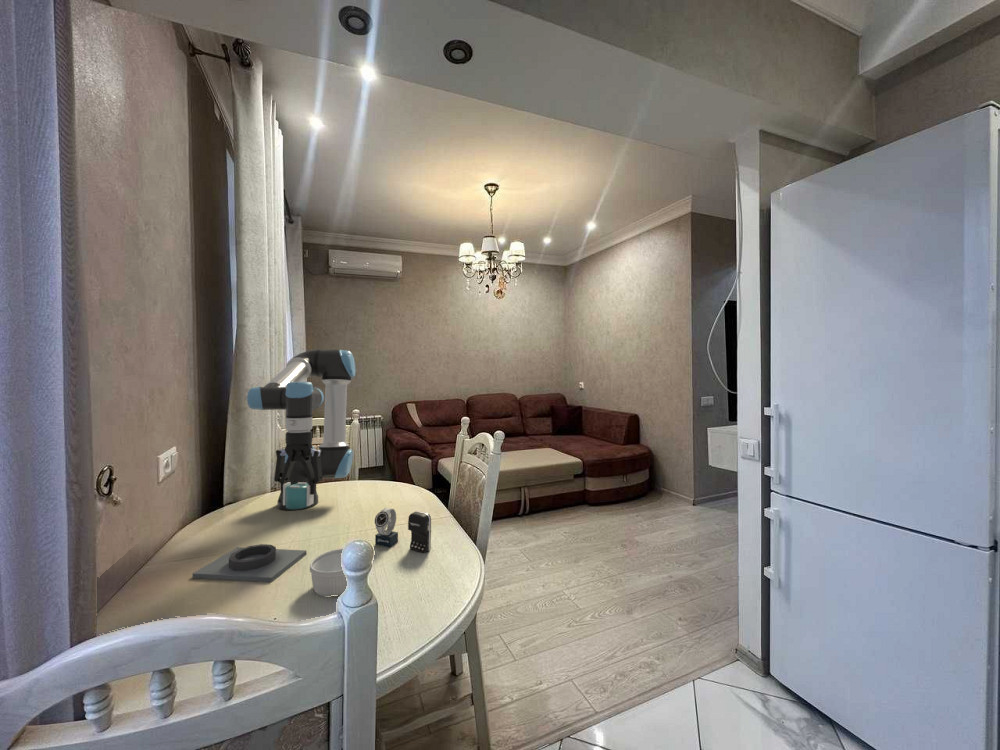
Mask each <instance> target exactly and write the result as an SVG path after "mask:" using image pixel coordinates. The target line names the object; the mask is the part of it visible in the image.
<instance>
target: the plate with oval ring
mask: <svg viewBox="0 0 1000 750" xmlns="http://www.w3.org/2000/svg"><path fill="white" fill-rule="evenodd" d="M306 555H307V550H302V549H287V548H286V549H284V548H283V549H282V548H281V549H279V548H277V547H276V546H274V545H273V544H267V543H264V544H262V543H260V544H254V545H248V546H245V547H242V546H241V547H239V546H237V547H235V548H234V549H232V550H230V551H228V552H226V553H225V554H223V555H221V556H220V557H218V558H216V559H214V560H213V561H211V562H209V563H208V564H206V565H205V566H203V567H201V568H199V569H197V570H196V571H194V572H193V573H192V574H191V575H192V577H191V578H192V579H207V580H220V581H221V580H224V581H225V580H226V581H241V582H243V581H244V582H260V583H262V582H264V583H272V582H274V581H275V580H276V579H277V578H279V577H280V576H281V575H283V574H284V573H285V572H287V570H289V569H290V568H291V567H293V566H294V565H295V564H296V563H298V562H299V561H300V560H301V559H303V558H304V557H305V556H306Z"/></svg>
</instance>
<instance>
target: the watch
mask: <svg viewBox="0 0 1000 750" xmlns="http://www.w3.org/2000/svg"><path fill="white" fill-rule="evenodd" d="M396 522H397V512H396V510H395V509H394V508H391V507H390V508H389V507H385V508H383V509H381V510H380V511H379V512H378V513H377V514H376V515H375V517H374V525H375V529H376V531H377V533H376V534H374V535H375V537H374V538H375V539H374V543H375V544H374V545H375V546H380V547H385V548H391V547H393V546H394V545H396V544H397V543H399V532H398V531H394V529H395V528H396V527H395V526H396Z"/></svg>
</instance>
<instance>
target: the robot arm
mask: <svg viewBox="0 0 1000 750" xmlns="http://www.w3.org/2000/svg"><path fill="white" fill-rule="evenodd" d="M313 377H314V378H321V382H322V383H323V384H324V385H325V390H324V391H325V392H324V393H323V391H322V390H321V389H320V388H318V387H314V386H313V383H312V382H311V381H303V380H305V379H307V378H313ZM355 377H356V363H355V357H354V355H353V353H352V351H350V350H345V349H344V350H343V349H310V350H306V351H303V352H301V353H298V354H297V355H295V356H293V357H292V358H290V359H289V360H288V361H287V363H286V365H285V367H284V368H283V369H282V370H281V371H280V372H279V373H278V374H277V375H275V376H274V377H273V378H272V379H271V380H270V381H269V382H268V383H266V384H265V385H264V386H256V387H255V386H253V387H251V388H249V390H248V391H247V395H246V403H247V405H248V408H250V410H259V411H265V410H266V411H271V410H272V411H275V410H276V411H277V410H279V411H282V410H284V411H285V431H286V433H285V441H284V442H285V444H286V445H285V447H284V448H280V449H276V450H275V455H276V464H275V471H274V472H275V473H274V482H276V483H277V482H278V483H279V484H280V493H279V496H278V499H277V504H276V505H277V509H279V510H281V511H298V510H304V509H308V508H311V507H312V508H313V507H314V506H316V505H318V504H319V494H318V492H317V484H319V483H320V482H322V481H323V479H341V478H343V479H344V478H346V477H348V476H349V474H350V471H351V469H352V465H353V458H354V451H353V449H352V448H350V445H349V443H348V442H347V440H346V435H347V434H346V429H347V405H348V404H347V401H348V400H347V399H348V395H347V394H348V385H349V384H351V382H352V378H355ZM323 402H324V414H323V415H324V416H323V417H324V419H323V439H322V440H323V441H322V442H321V444H319V446H318V447H319V448H318V449H315V447H314V446H313V445H312V444H313V431H312V429H313V410H315V409H317V408H319V407H320V406H321V405H322V404H323ZM299 482H302V483H307V484H308V485H307V506H308V507H305V508H300V509H287V508H286V487H287V486H289V485H293V484H297V483H299Z"/></svg>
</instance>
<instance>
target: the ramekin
mask: <svg viewBox="0 0 1000 750" xmlns="http://www.w3.org/2000/svg"><path fill="white" fill-rule="evenodd" d="M343 549H344V548H337V549H331V550H329V551H326V552H323V553H321V554H319V555H318V556H316V557H314V558H313V559H312V560H311V562H310V563H309V572H310V574H311V581H312V587H313V590H314V592H315V593H317V595H318V596H320V597H323V596H331V595H338V597H341V596H340V595H341V594H342V593H343V592H344V591H345V589H346V586H347V581H346V577H345V575H344V573H343V570H342V567H341V553H342V550H343Z"/></svg>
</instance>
